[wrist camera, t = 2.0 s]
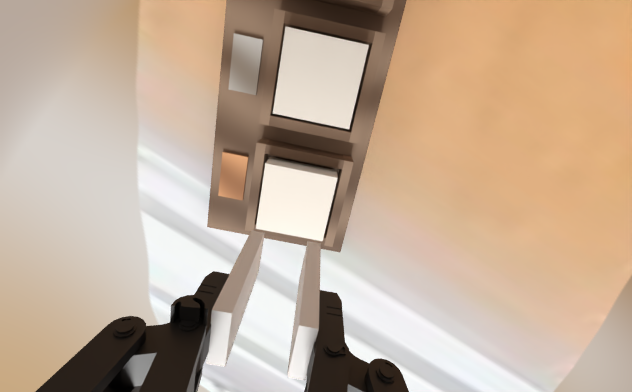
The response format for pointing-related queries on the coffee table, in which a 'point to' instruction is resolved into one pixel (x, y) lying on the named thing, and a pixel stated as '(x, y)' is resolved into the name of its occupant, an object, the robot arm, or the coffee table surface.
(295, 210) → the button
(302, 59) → the button middle
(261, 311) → the coffee table surface
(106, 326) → the robot arm
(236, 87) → the button board
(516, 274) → the coffee table surface
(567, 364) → the coffee table surface
